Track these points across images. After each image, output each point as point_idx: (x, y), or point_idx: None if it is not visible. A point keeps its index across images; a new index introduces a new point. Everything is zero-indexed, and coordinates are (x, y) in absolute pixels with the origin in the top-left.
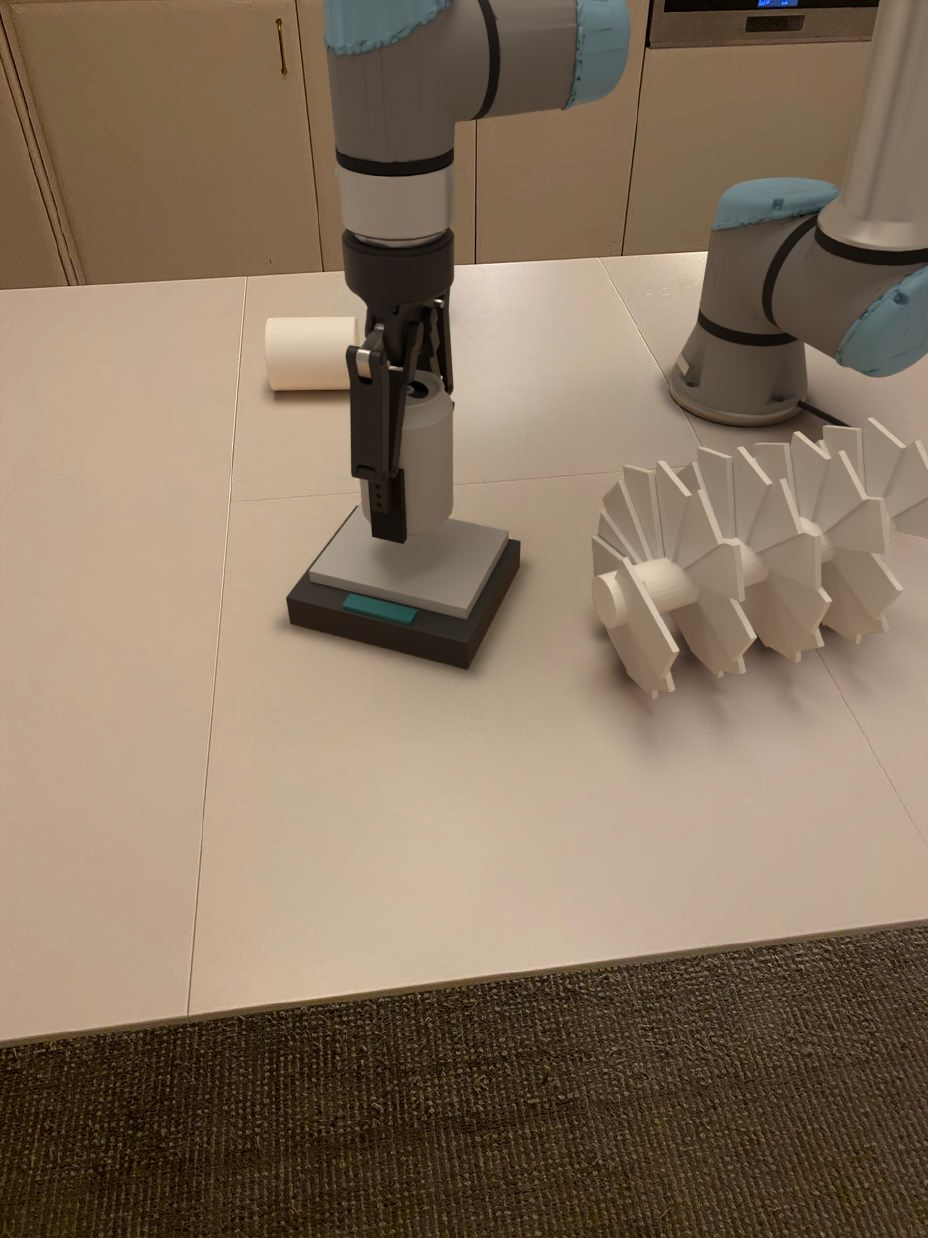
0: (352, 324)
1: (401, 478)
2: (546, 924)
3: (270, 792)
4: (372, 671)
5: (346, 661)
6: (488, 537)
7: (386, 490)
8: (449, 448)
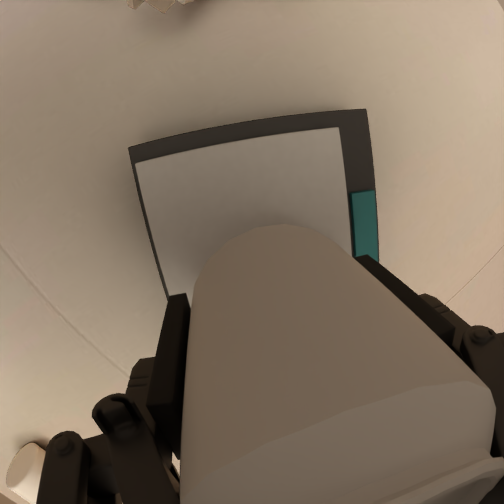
0: (16, 488)
1: (441, 321)
2: (488, 3)
3: (498, 206)
4: (389, 205)
5: (387, 237)
6: (167, 182)
7: (463, 320)
8: (310, 302)
